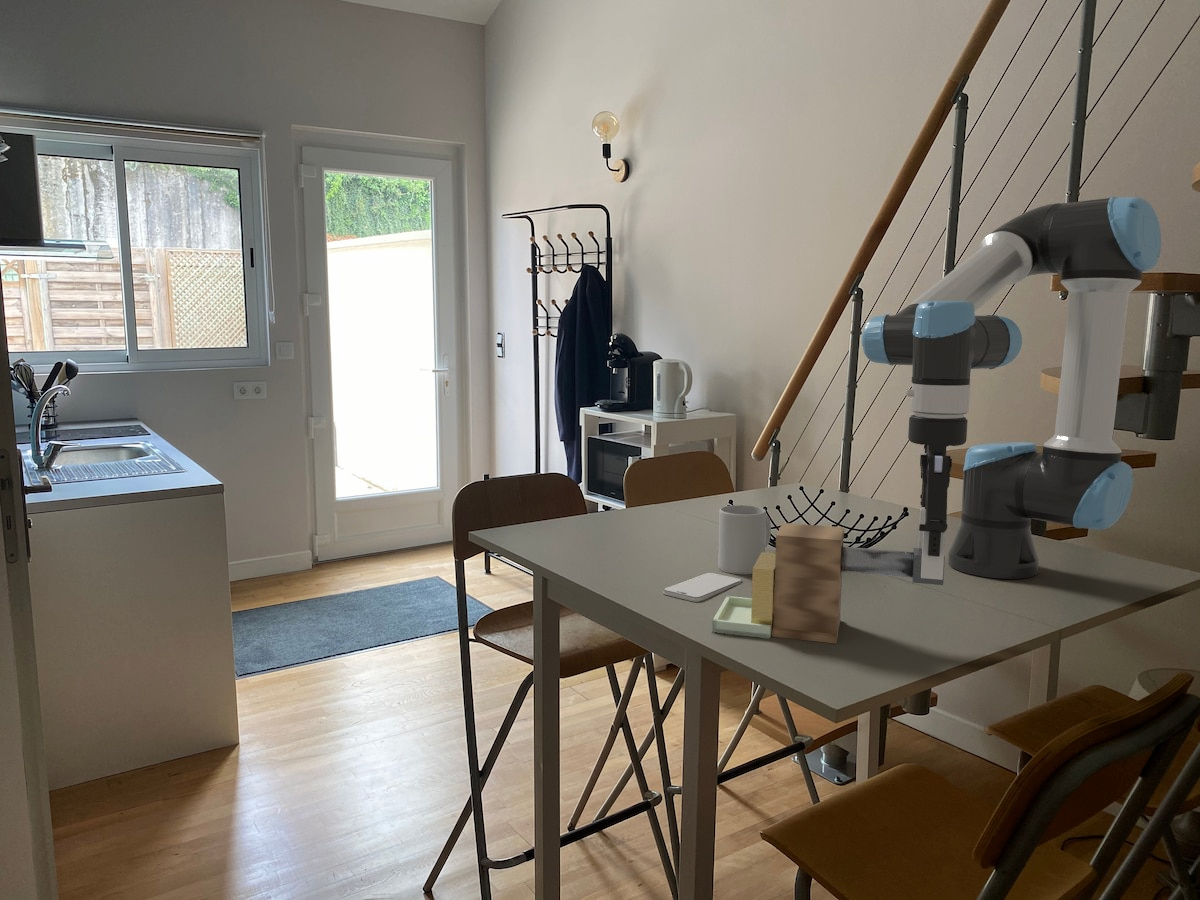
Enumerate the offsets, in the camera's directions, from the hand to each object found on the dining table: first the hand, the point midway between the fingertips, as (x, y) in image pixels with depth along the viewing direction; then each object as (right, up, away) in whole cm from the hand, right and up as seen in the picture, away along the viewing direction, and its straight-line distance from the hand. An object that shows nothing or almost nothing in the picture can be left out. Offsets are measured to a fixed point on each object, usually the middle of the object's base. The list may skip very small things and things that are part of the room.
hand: (929, 564), depth 124 cm
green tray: (-24, -10, +9) cm, 28 cm away
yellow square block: (-22, -9, +9) cm, 25 cm away
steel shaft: (-8, -2, +3) cm, 8 cm away
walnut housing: (-16, -10, +7) cm, 20 cm away
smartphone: (-29, -8, +27) cm, 40 cm away
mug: (-19, -6, +39) cm, 44 cm away
